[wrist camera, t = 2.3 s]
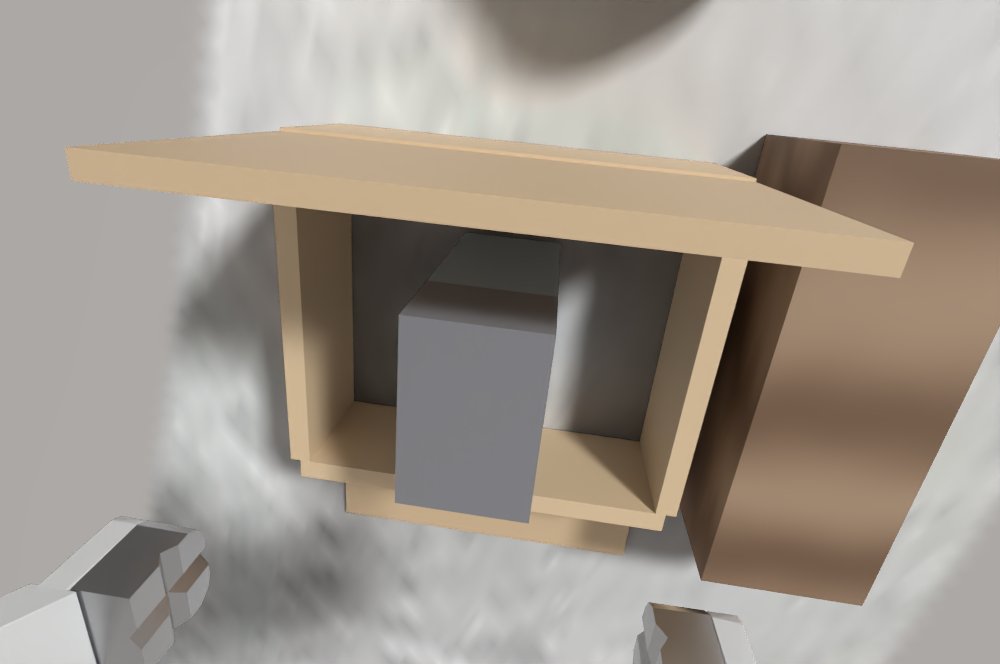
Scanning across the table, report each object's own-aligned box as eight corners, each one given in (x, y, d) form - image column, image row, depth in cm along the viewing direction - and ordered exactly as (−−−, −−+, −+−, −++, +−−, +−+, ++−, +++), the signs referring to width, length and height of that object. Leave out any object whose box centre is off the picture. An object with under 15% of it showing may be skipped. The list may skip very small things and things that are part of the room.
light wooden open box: (330, 122, 22) (42, 139, 10) (725, 164, 21) (942, 239, 9) (341, 507, 29) (187, 779, 17) (629, 552, 28) (676, 876, 16)
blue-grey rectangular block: (466, 232, 23) (398, 314, 14) (560, 243, 23) (556, 335, 13) (457, 359, 25) (394, 502, 16) (542, 371, 25) (528, 523, 16)
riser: (766, 134, 20) (841, 143, 15) (934, 151, 20) (1077, 167, 14) (672, 481, 26) (701, 580, 21) (799, 500, 26) (862, 605, 20)
